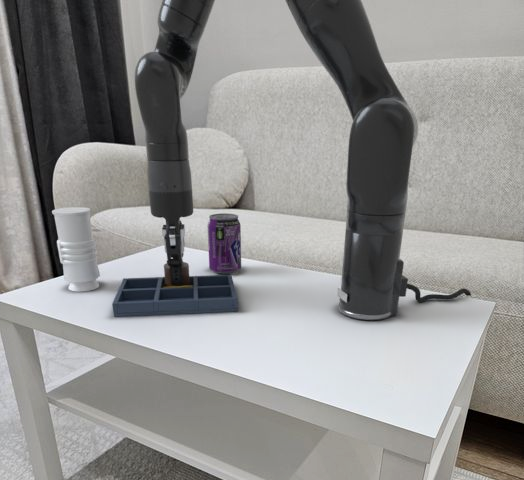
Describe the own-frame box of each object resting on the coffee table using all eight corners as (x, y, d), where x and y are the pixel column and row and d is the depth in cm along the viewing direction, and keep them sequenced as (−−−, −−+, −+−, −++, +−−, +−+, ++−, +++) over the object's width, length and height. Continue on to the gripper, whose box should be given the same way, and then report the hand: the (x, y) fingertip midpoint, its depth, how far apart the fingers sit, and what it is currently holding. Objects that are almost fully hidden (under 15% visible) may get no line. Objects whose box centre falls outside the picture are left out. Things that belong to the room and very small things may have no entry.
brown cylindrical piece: (189, 278, 93) (188, 261, 91) (189, 285, 89) (188, 267, 87) (165, 279, 92) (164, 261, 91) (164, 286, 88) (163, 268, 87)
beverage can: (226, 277, 102) (225, 220, 96) (202, 271, 105) (200, 216, 100) (247, 270, 107) (247, 215, 101) (224, 264, 110) (222, 211, 105)
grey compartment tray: (231, 286, 96) (231, 274, 95) (237, 311, 83) (237, 298, 82) (124, 290, 94) (123, 278, 93) (113, 316, 81) (112, 303, 80)
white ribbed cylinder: (61, 285, 96) (46, 209, 89) (95, 279, 100) (83, 206, 93) (71, 294, 91) (57, 214, 84) (106, 288, 95) (95, 210, 88)
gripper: (192, 192, 77) (197, 292, 84) (191, 182, 90) (197, 270, 97) (144, 193, 76) (155, 294, 84) (151, 182, 89) (159, 271, 96)
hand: (177, 280), depth 90 cm, fingers closed on brown cylindrical piece, 4 cm apart
